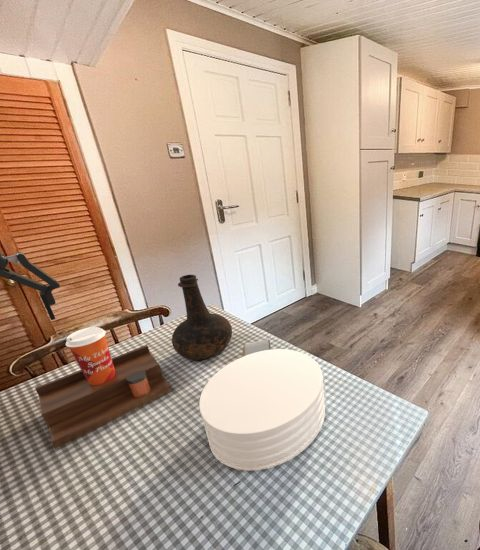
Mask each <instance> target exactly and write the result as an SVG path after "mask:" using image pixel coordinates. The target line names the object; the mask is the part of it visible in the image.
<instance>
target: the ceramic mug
mask: <svg viewBox="0 0 480 550" xmlns="http://www.w3.org/2000/svg"><path fill="white" fill-rule="evenodd" d="M264 350H272V347H271V341H270V339H269V338H265V339H262V340H257V341H254V342H253V341H252V342H249V343H246V344H244V345H243V346H242V357H244V356H246V355H249V354H252V353H255V352H259V351H264Z"/></svg>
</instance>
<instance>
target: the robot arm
mask: <svg viewBox="0 0 480 550" xmlns="http://www.w3.org/2000/svg"><path fill="white" fill-rule="evenodd" d="M11 262H12V263H14V264H15V265H21V266H22V267H23V268H24V269H26V270H27V271H29V272H30V273H32V274H33V275H35V276H36V277H37V278H39V279H40V280H42V281H43V282H45V283H47V284H44V283H42V282H39V281H37V280H35V279H32V278H30V277H27V276H25V275H22V274H20V273H18V272H15V271H13V270H12V269H9V268H7V266H8V264H9V263H11ZM0 277H1V278H4V279H6V280H11V281H13V282H16V283H18V284H21V285H23V286H25V287H28V288H31V289H33V290H35V291H38V293H39V297H40V299H41V301H42V303H43V305H44V308H45V310H46V312H47V314H48V317H49V319H50V321H54V320H56V317H55V314H54V311H53V310H52V307H51V306H55V305H56V300H55V297H54V295H53V293H52V292H53V291H54V290H56V289H59V288H60V286H61V285H60V282H59V281H58V280H57V279H56V278H54V277H52V276H51V275H50V274H48V273H47V272H46V271H44V270H42V269H41V268H40V267H39V266H37V265H36V264H34V263H33V262H32V261H30V260H29V259H28V258H27V256H26V254H25V253H24V252H23V251H18V252H16V253H15V254H10V255H7V256H5V255H4V254H2V252H1V251H0Z"/></svg>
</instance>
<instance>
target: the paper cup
mask: <svg viewBox="0 0 480 550" xmlns="http://www.w3.org/2000/svg"><path fill="white" fill-rule="evenodd" d="M65 340H66V342H65V346H66V347H68V348H69V350H70V352H71V354H72V355H73V357H74V359H75V362H76V363H77V365H78V366H79V368H80V370H82V372H83V374H84V375H85V377H86V379H87V381H88V382H89V384H90V385H100V384H103V383H105V382H107V381H109V380H111V379H112V378H113V377H114V376H115V369H114V366H113V362H112V359H111V358H112V356H111V352H110V349H109V346H108V342H107V338H106V330H105V329H103V328H101V327H99V326H91V327H85V328H82V329H79V330H76V331H73V332H72V333H70V334H69V335H68V336H67V337H66V338H65Z"/></svg>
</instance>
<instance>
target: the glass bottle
mask: <svg viewBox="0 0 480 550" xmlns="http://www.w3.org/2000/svg"><path fill="white" fill-rule="evenodd" d="M198 280H199V279H198V278H197V275H196V274H186V275H182V276H181V277H179V282H178V284H177V286H178V287H180V288H181V290H182V293H183V300H184V304H185V311H186V319H184V320H183V321H181V323H180V322H179V324H178V325H177V326H176V327H175V329H174V331H173V332H172V336H171V344H172V348H173V349H174V351H175V352H176V353H177V354H178V355H180V356H181V357H183V358H186V359H189V360H193V361H200V360H207V359H210V358H213V357H215V356H217V355H219V354H220V353H221V352H222V351H224V350H225V349H226V348H227V347H228V345H229V344H230V341H231V339H232V336H233V328H232V325H231V323H230V321H229V320H228V319H227V318H226V317H224V316H223V315H221V314H218V313H211V312H210V310H209V309H208V308H207V305H206V303H205V301H204V298H203V296H202V293H201V290H200V288H199V287H200V286H199V284H198Z"/></svg>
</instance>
